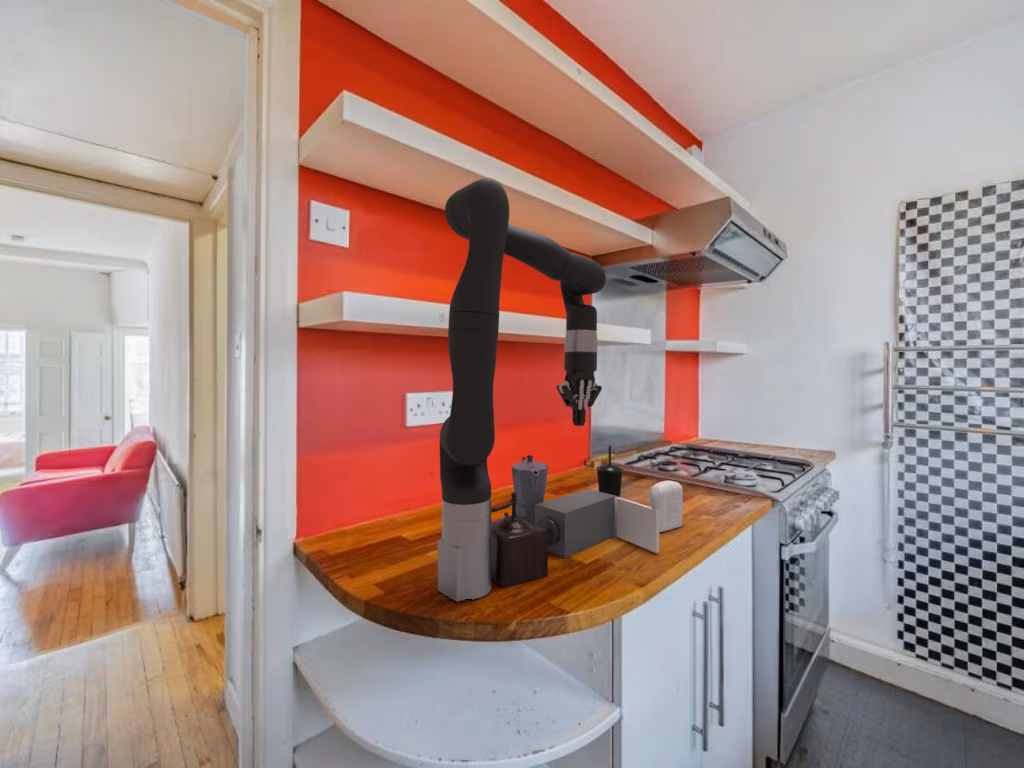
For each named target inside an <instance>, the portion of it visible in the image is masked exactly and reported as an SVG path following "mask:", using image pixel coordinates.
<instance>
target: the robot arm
mask: <svg viewBox="0 0 1024 768" xmlns="http://www.w3.org/2000/svg"><path fill="white" fill-rule="evenodd" d="M444 215H445V219H446V222H447V224H448V226H449V227H450V229H451V230H452V232H454V233H455V234H456V235H458V236H459V237H461V238H463V239H465V240H468V250H467V251H468V252H467V256H466V260H465V264H464V265H463V266H464V267H463V268H462V272H461V274H460V276H459V278H458V281H457V284H456V286H455V287H454V291H453V294H452V297H451V299H450V304H449V310H448V327H447V328H448V331H447V341H448V352H449V353H448V354H449V362H450V363H449V365H450V370H451V377H452V398H451V405H450V406H451V407H450V414H449V416H448V417H447V418H446V419H445V420H444V422H443V423H442V426H441V428H440V432H439V476H440V485H441V486H440V487H441V538H440V539H438V540H437V591H438V592H439V591H440V592H439V593H441V594H443V595H444V596H446V597H447V596H448V597H447V598H449V599H451V600H452V599H453V600H452V601H454V600H455V601H457V602H456V603H459V602H458V601H460V602H462V601H466V600H465V599H472V600H477V599H481V598H482V597H485V596H486V595H488V594H489V593H491V590H492V578H491V522H492V513H491V508H492V482H491V479H490V475H489V470H488V469H489V468H488V458H489V456H490V455H491V453H492V451H493V449H494V446H495V442H496V441H495V439H496V431H495V413H494V412H495V411H494V384H495V383H494V381H495V373H496V364H497V352H498V342H499V341H498V340H499V327H500V302H501V301H500V299H501V286H502V275H503V274H502V273H503V262H504V261H503V260H504V255H506V256H509V257H511V258H513V259H515V260H516V261H519V262H521V263H523V264H525V265H527V266H529V267H530V268H532V269H534V270H535V271H537V272H538V273H540V274H542V275H543V276H545V277H547V278H549V279H550V280H553V281H555V282H559V283H560V284H559V287H560V291H561V296H562V300H563V305H564V308H565V312H566V314H565V315H566V319H565V320H566V321H565V322H566V324H565V330H566V331H565V338H564V355H563V357H564V359H563V360H564V361H563V362H564V363H563V364H564V366H563V370H564V371H565V376H564V381H563V382H562V383H561V384H558V385H556V390H557V392H558V393H559V395H560V397H561V399H562V401H563V403H564V404H565V406H566V407H569V408H570V409H571V410H572V424H573V426H575V427H584V426H585V423H586V418H587V417H586V412H587V410H588V408H591V407H593V406H594V404H595V402H596V399H598V397H599V395H600V394H601V391H602V390H603V387H602V385H598V384H597V383H596V377H595V372H597V369H598V335H597V334H598V333H597V332H598V331H597V330H598V329H597V328H598V311H597V309H596V307H595V306H593V305H591V304H585V301H584V297H583V296H587V295H592V294H596V293H599V292H600V291H602V290H603V288H604V287H605V285H606V282H607V276H606V271H605V270H604V268H603V267H602V265H601V264H600V263H598V262H597V261H595V260H594V259H592V258H590V257H587V256H584V255H581V254H579V253H575V252H571V251H570V250H568V249H566V248H565V247H564V246H562V245H560V244H559V243H558V242H556V241H555V240H553V239H552V238H549V237H548V236H546V235H542V234H540V233H537V232H534V231H530V230H528V229H524V228H521V227H518V226H515V225H512V224H509V222H510V202H509V198H508V195H507V192H506V190H505V188H504V187H503V185H502V184H501V182H499V181H498V180H496V179H494V178H490V177H485V178H480V179H477V180H475V181H473V182H470V183H469V184H467V185H465V186H463V187H461V188H460V189H458V190H456V191H455V192H454V193H452V195H450V196H449V198H448V199H446V203H445V207H444ZM476 598H477V599H476ZM461 600H462V601H461ZM455 601H454V602H455Z"/></svg>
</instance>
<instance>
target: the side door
mask: <svg viewBox="0 0 1024 768" xmlns="http://www.w3.org/2000/svg"><path fill="white" fill-rule="evenodd" d="M651 487H652V506H651V507H649V505H645V504H642V503H639V502H635V501H633V500H629V499H626V498H623V497H621V496H620V497H615V536H614V537H618V538H619V539H622V540H624V541H627V542H629V543H631V544H634V545H636V546H639V547H641V548H643V549H646V550H648V551H651V552H653V553H656V554H657V553H660V532H659V487H658V486H654V485H652V486H651Z"/></svg>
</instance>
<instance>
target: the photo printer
mask: <svg viewBox="0 0 1024 768" xmlns="http://www.w3.org/2000/svg"><path fill="white" fill-rule="evenodd" d="M653 486H658V487H659V533H661V532H667V531H670V530H674V529H678V528H680V527H682V525H683V493H684V492H683V487H682V484H680V482H677V481H673V480H663V481H659V482H657V483H655V484H654V485H653ZM648 506H649V507H651V506H652V486H651V487H650V488H649V491H648Z"/></svg>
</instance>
